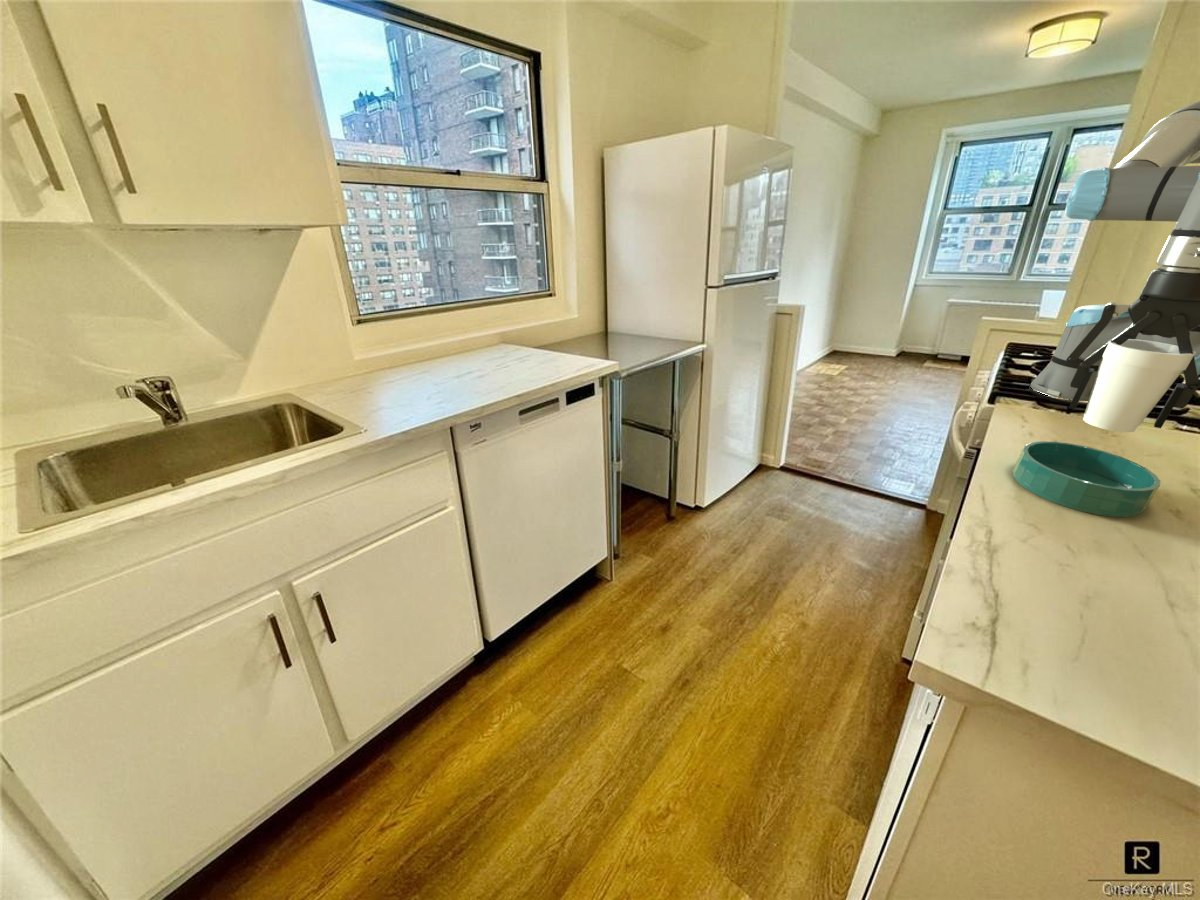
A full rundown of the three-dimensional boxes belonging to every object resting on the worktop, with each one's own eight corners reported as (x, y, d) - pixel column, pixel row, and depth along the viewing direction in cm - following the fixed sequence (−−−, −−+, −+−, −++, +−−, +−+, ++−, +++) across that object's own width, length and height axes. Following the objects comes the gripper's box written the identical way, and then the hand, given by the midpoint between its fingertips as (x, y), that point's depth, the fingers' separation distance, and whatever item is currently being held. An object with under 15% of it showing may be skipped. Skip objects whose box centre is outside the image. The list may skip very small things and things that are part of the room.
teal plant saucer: (1023, 456, 96) (1034, 433, 93) (1147, 490, 84) (1162, 465, 82) (1002, 486, 85) (1013, 461, 83) (1140, 530, 74) (1157, 503, 72)
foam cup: (1058, 418, 81) (1095, 341, 75) (1088, 410, 85) (1126, 336, 79) (1131, 440, 74) (1178, 357, 68) (1161, 431, 77) (1209, 351, 71)
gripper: (1084, 264, 73) (1023, 402, 83) (1325, 281, 59) (1216, 445, 69) (1090, 261, 78) (1032, 392, 88) (1316, 275, 63) (1215, 430, 73)
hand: (1113, 415), depth 78 cm, fingers closed on foam cup, 9 cm apart
